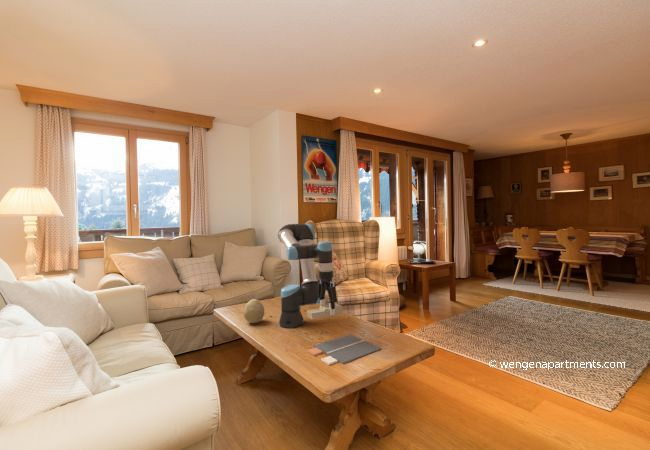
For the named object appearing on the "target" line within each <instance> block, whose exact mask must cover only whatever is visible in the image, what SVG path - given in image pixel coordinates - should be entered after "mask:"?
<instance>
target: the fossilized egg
mask: <svg viewBox="0 0 650 450" xmlns="http://www.w3.org/2000/svg"><path fill="white" fill-rule="evenodd" d="M264 316H265V307H264V305H263V303H262V302H261V301H259V300H258V299H256V298H253V299H250V300H249V301H248V302H247V303H246V304H245V306H244V307H243V317H244V320H246V321H247V322H248V323H250V324H257V323H260V322H261V321H262V320H263V318H264Z"/></svg>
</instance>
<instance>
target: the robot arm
mask: <svg viewBox="0 0 650 450" xmlns="http://www.w3.org/2000/svg"><path fill="white" fill-rule="evenodd" d="M315 234H316V233H315V229H314V226H313V225H312V224H311V223H307V222H306V223H290V224H289V223H288V224H285V225H283V226H282V227H281V228H280V229H279V230H278V232H277V238H278V240H279V242H280V243H281V244H283V245H284V246H285V249H286V259H287V260H289V261H297V260H299V261H300V266H301V267H300V268H301V273H302V274H301V275H302V283H301V284H300V285H301V286H300V285H299V284H288V285H286V286H284V287H282V288H281V290H280V304H281V305H280V307H281V313H280V317H279V321H278V326H279V325H280V327H281V328H285V329H293V328H298V327H301V326H302V325H304V324H305V322H304V321H305V319H304V317H303V316H304V315H303V314H302V312H301V311H302V310H301V307H305V306H310V305H311V306H312V305H319V304H320V305H319V306H326V297H325V296H326V291H327V295H328V299H329V303H328V305H329V309H330V316H329V317H332V316H331V315H334V316H336V315H335V304H336V303H337V302H338V296H337V289H336V286H337V285H336V282H333V280H332V279H333V278H334V271H333V268H334V265H333V264H334V263H333V245H332V242H331V241H318V242H317V243H316V244H313V242H314V240H315V238H316V236H315ZM314 259H318V260H317V261H318V277H319V279H318V278H317V273H316V267H315V260H314Z"/></svg>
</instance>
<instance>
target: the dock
mask: <svg viewBox="0 0 650 450" xmlns="http://www.w3.org/2000/svg"><path fill="white" fill-rule="evenodd" d="M381 350H382V347H379V346H378V345H375V344H373V343H372V342H368V341H366V339H361V338H360V337H357V336H356V335H353V334H351V333H348V334H346V335H342V336H339V337H336V338H333V339H330V340H326V341H324V342H320V343H317V344H314V345H313V348H309V349H307V353H308V354H310V355H312V356H313V357H315V356H319V355H321V354H325V355H327V356H325V357H322V358H320V359H321V361H322V362H323V363H325V365H328V366H331V365H334V364H336V363H340V364H342V365H344V364H348V363H349V362H352V361H355V360H357V359H360V358H362V357H365V356H369V355H371V354H373V353H376V352H378V351H381Z"/></svg>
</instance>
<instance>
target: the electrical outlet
mask: <svg viewBox="0 0 650 450" xmlns="http://www.w3.org/2000/svg"><path fill="white" fill-rule="evenodd" d="M343 307H344V306H342V305H341V304H338V303H335V315H331V316H330V309H329V304H327V305H326V304H325V306H321V305H319V307H318V308H313V309H312V308H311V309H307V310H306V317H308V318H309V319H311V320H317V319H322V318H328V317H333V316H339V315H343V314H344V311H343V310H344V309H343Z"/></svg>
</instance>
